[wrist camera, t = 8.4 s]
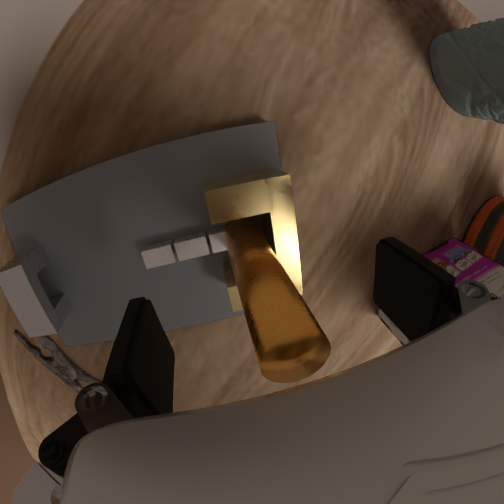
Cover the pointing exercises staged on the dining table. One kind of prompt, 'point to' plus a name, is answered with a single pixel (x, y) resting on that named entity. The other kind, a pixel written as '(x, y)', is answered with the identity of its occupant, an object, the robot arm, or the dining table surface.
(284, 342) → the amber lever
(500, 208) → the beer stein
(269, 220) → the bracket
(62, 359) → the pliers
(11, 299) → the block
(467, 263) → the candy bar box
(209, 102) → the dining table surface
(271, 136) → the tie down board
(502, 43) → the grey green cup
